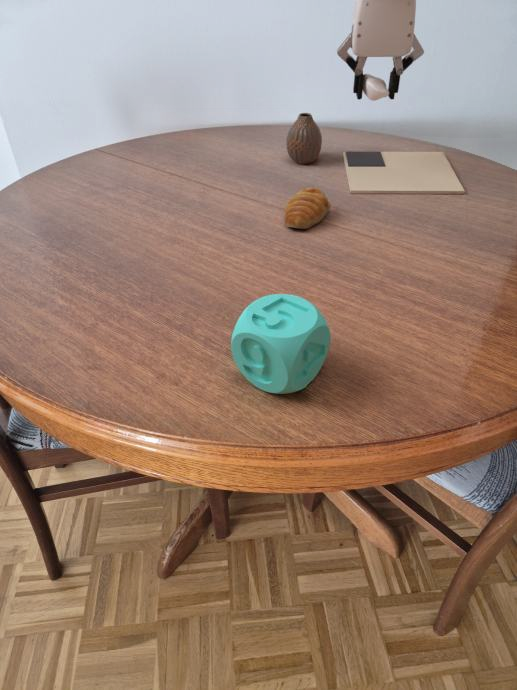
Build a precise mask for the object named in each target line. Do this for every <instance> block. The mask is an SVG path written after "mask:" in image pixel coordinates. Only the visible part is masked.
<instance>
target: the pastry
mask: <svg viewBox="0 0 517 690" xmlns="http://www.w3.org/2000/svg"><path fill="white" fill-rule="evenodd" d="M331 207H332V205H331V202H330V201H329V199H328V197H327V196H326V194H325V192H324V191H323V190H321V189H320V188H316V187H307V188H302V189H301V190H299V191H297V193H296V194H295V195H293V196H292V197H291V198H290V199H289V200H288V202H287V204H286V206H285V209H284V223H285V226H286V227H287V228H294V229H302V230H305V229H306V230H307V229H310V228H311V227H312V226H315V225H317V224H319V223H320V222H321V221H322V220H323V219H324V218H325V217H326V216H327V215H328V212H329V211H330V209H331Z"/></svg>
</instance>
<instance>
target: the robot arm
mask: <svg viewBox="0 0 517 690" xmlns="http://www.w3.org/2000/svg"><path fill="white" fill-rule="evenodd" d="M353 8H354V9H353V13H352V14H353V15H352V16H353V17H352V22H351V28H350V29H351V31H350V33H349V34H348V36H347V37H346V38H345V40H343V42H342V43H341V44H340V46H339V47H338V48H337V49H336V54H337V56H338V57H339V58H340V59H341V60H342V61H343V62H345V64H347V66H348V67H349V68H350V70H352V72H353V73H354V76H353V78H354V79H353V87H352V91H353V92H352V93H353V94H355V95H356V96H355V97H356V98H357V100H362V99H363V93H364V92H363V83H364V67H365V65H366V62H367V60H368V58H392V65H393V68H392V70H391V71H390V73H389V80H388V88H387V90H388V91H389V95H388V96H387V97H388V98H389V99H390V100H394V99H395V97H396V96H395V94H398V93H399V88H400V81H401V76H402V75H403V74H404V72H405V71H406V70H407V69H408V68H409V67H410V66H412V64H413V63H414V62H415V61H417V60H419V58H420V57H422V56H423V55H424V54H425V49H424V48H423V46H422V45H421V43H420V41H419V39H418V38H417V36H416V35H415V25H416V11H417V10H416V9H417V0H355V3H354V7H353ZM350 49H351V50H352V54H353V55H355V56H356V59H355V58H354V57H353V55H351V54H350V53H349V50H350Z"/></svg>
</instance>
